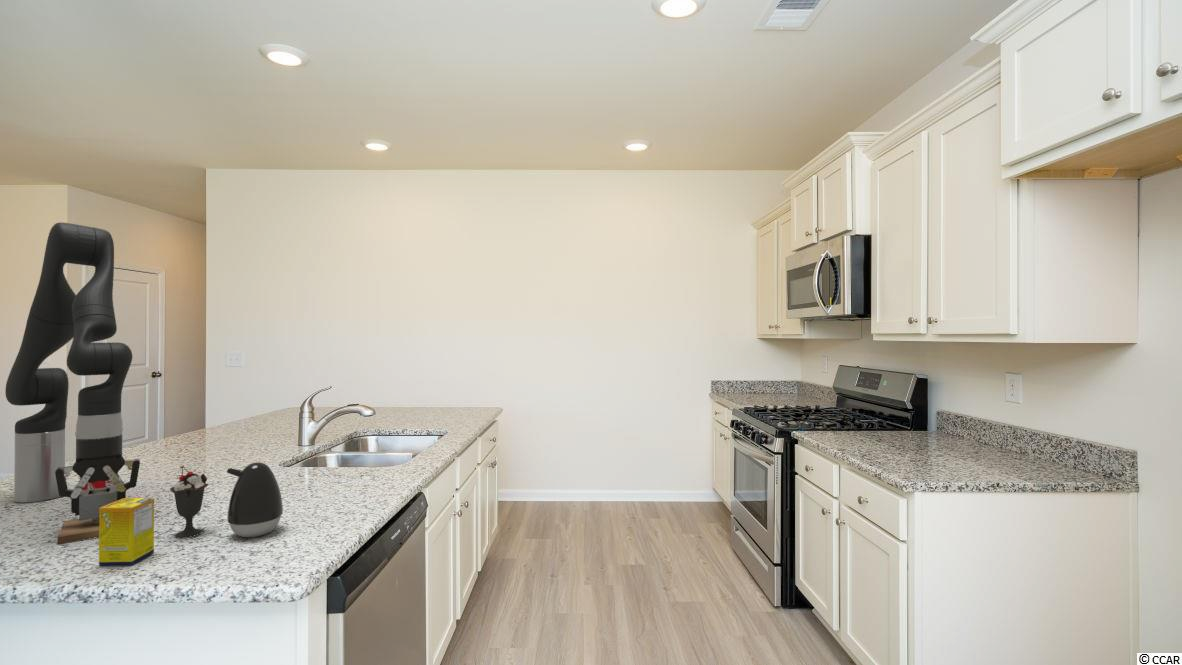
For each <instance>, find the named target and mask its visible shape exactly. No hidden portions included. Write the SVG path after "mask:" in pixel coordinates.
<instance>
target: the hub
mask: <svg viewBox="0 0 1182 665" xmlns="http://www.w3.org/2000/svg"><path fill="white" fill-rule="evenodd" d="M98 489H106V492H103V493H96V494H92V491H94V490H98ZM118 491H119V490H118V489H117V487H116V486H112V487H105V488H97V489H89V490H82V491H81V494H80V496H79V515H78V519H79V521H82V520H88V519H95V518H99V508H100V507H103V506H106V505H108V504H111V503H113V502H116V501H117V493H118Z"/></svg>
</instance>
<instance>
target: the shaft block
mask: <svg viewBox="0 0 1182 665" xmlns="http://www.w3.org/2000/svg"><path fill="white" fill-rule="evenodd" d="M103 492H106V489H98V490H94V491H92V494H96V493H103ZM94 537H98V538H99V518H95V519H88V520H82V521H79V518H75V519H68V520H63V522H62V524H61V527H60V530H59V533H58V535H57V538H56V539H57V544H56V545H62V544H69V543H73V542H74V541H75V542H79V541H78V540H81V541H84V540H83V539H87V540H90V539H89V538H93V539H95V538H94ZM75 542H74V543H75Z"/></svg>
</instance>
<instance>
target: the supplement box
mask: <svg viewBox="0 0 1182 665" xmlns="http://www.w3.org/2000/svg"><path fill="white" fill-rule="evenodd" d="M154 553H155V498H154V497H126V498H123V499H121V500H118V501H116V502H113V503H111V504H108V505H106V506H103V507H100V508H99V537H98V566H99V567H100V566H102V567H124V565H131V566H134V565H135V564H136V563H139V562H140V561H142V560H143V559H146V558H148V557H149V556H150V555H152V554H154ZM138 561H139V562H138Z"/></svg>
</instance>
